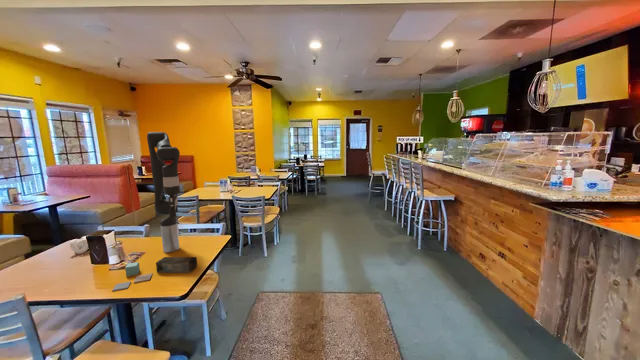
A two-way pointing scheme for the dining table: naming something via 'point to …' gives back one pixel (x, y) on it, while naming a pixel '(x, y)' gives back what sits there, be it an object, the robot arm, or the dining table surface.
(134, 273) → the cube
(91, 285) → the dining table surface
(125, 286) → the pad
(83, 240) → the white crumpled lump
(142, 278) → the pad
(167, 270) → the beverage carton
